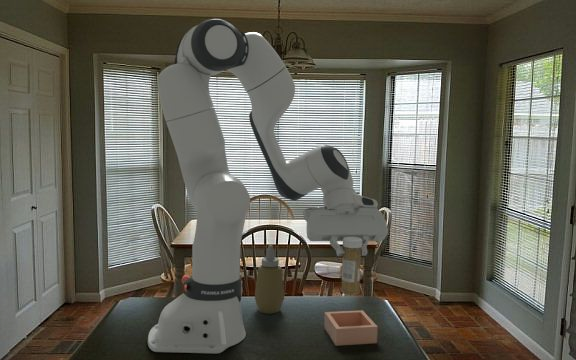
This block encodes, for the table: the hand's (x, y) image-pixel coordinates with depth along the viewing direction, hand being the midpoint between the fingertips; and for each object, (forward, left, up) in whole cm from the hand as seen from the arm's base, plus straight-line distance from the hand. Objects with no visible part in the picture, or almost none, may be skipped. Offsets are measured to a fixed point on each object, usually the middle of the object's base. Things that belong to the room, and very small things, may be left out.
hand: (352, 254), depth 111 cm
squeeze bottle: (-17, +18, -20) cm, 32 cm away
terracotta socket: (0, 0, -20) cm, 20 cm away
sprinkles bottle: (0, +1, -10) cm, 10 cm away
